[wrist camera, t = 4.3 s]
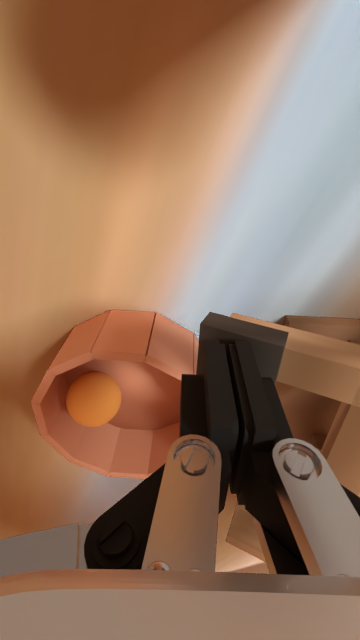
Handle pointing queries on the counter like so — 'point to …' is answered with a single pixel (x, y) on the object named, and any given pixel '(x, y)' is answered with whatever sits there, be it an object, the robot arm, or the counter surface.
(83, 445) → the cup
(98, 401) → the ball
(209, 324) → the tipping lever
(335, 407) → the lever stand
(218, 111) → the counter surface
